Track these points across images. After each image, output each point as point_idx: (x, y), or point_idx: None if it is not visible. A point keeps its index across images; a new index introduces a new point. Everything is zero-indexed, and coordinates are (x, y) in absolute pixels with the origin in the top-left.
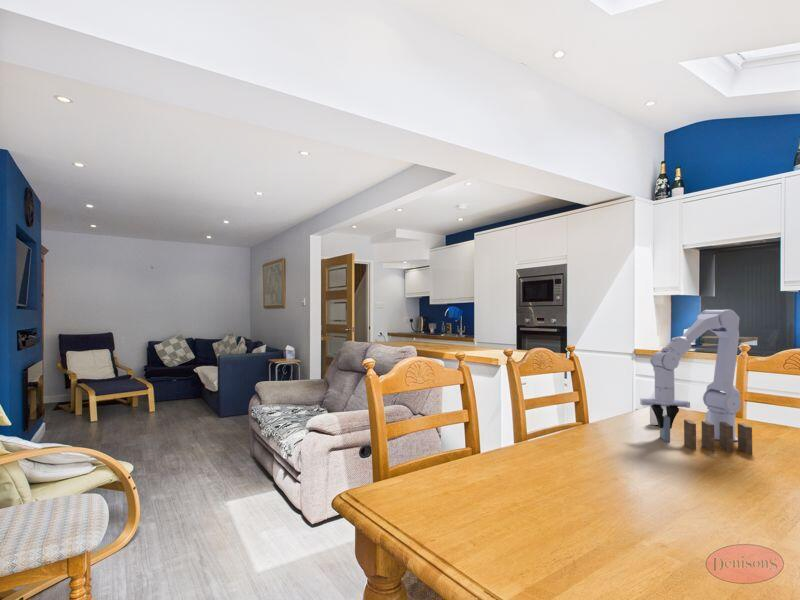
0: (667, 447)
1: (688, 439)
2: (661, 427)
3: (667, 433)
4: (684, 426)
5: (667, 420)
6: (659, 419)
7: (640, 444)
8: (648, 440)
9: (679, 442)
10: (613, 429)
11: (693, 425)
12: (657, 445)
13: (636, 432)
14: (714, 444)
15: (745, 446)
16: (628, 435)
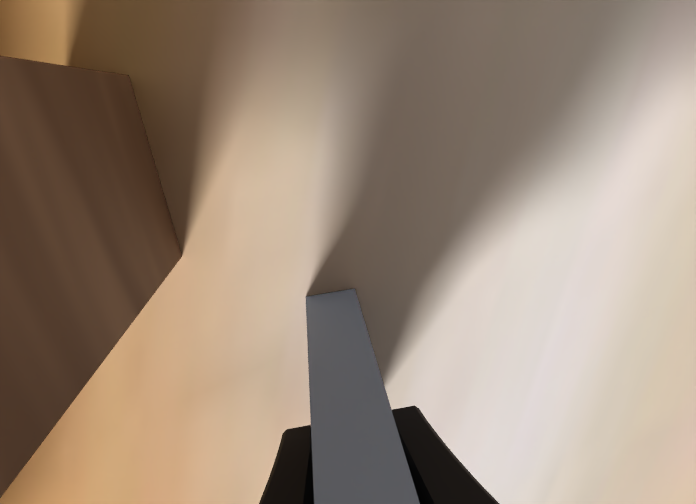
0: (377, 33)
1: (103, 145)
2: (405, 412)
3: (337, 336)
4: (78, 362)
5: (359, 478)
6: (483, 490)
7: (639, 42)
8: (504, 249)
9: (221, 308)
10: (681, 464)
11: None
12: (467, 80)
13: (529, 461)
14: None
15: None
16: (630, 343)
